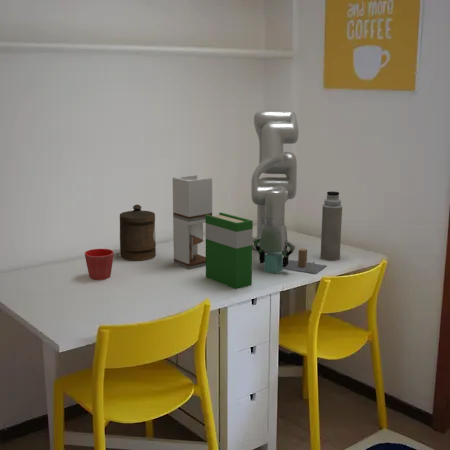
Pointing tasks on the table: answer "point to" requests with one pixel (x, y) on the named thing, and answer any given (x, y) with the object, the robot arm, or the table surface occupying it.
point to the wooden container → (137, 235)
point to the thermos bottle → (331, 227)
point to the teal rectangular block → (273, 262)
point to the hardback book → (229, 250)
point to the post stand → (304, 264)
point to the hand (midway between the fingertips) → (273, 264)
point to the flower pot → (99, 263)
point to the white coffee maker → (190, 218)
